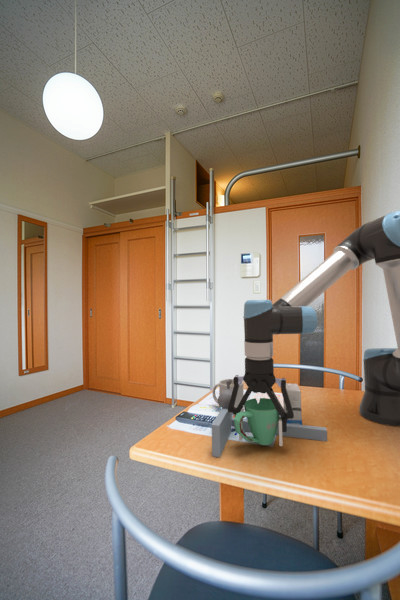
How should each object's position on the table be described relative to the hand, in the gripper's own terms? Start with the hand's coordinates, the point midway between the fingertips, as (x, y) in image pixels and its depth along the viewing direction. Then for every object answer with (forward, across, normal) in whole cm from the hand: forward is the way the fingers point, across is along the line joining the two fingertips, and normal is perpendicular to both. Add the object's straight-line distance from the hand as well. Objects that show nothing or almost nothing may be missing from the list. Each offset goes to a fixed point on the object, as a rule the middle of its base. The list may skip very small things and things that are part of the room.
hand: (260, 441), depth 74 cm
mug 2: (+1, +1, 0) cm, 1 cm away
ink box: (+2, -8, -19) cm, 21 cm away
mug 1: (+2, +14, -26) cm, 29 cm away
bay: (+2, -2, -3) cm, 4 cm away
